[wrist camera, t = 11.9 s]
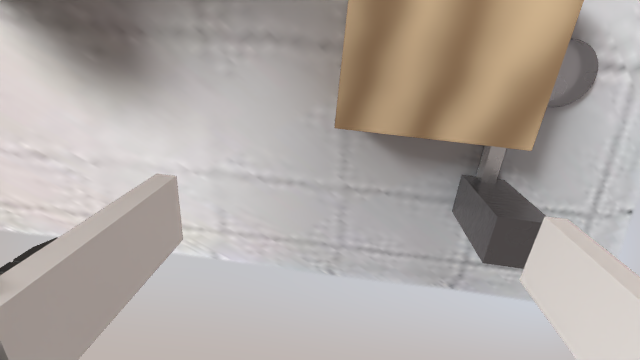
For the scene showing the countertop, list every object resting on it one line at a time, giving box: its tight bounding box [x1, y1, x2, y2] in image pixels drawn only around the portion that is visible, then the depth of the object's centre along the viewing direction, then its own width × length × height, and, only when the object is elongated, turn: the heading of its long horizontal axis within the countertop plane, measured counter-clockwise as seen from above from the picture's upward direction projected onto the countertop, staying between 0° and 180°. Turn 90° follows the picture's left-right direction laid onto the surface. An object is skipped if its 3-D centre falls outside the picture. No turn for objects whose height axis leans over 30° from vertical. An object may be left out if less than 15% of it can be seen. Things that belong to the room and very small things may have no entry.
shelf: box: [334, 0, 584, 151], centre depth 28 cm, size 16×14×8 cm
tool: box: [452, 146, 546, 269], centre depth 29 cm, size 4×20×10 cm, turn 175°
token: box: [547, 39, 598, 107], centre depth 31 cm, size 6×6×1 cm
